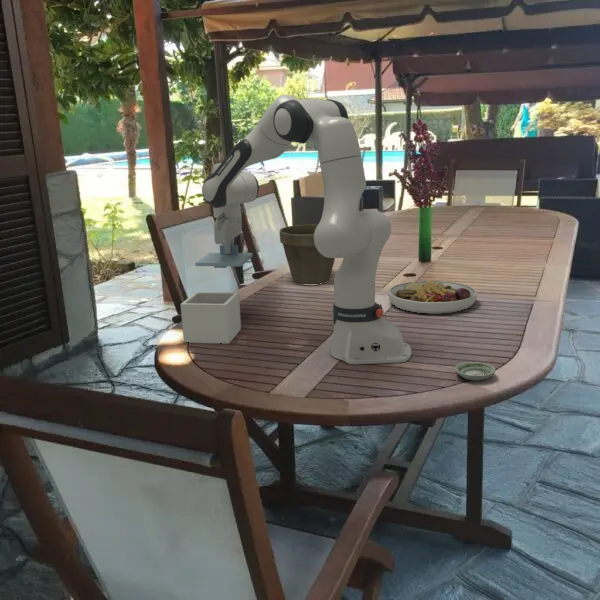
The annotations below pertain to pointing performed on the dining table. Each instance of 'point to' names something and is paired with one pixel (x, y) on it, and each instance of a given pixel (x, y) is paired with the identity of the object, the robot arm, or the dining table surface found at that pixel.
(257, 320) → the dining table surface
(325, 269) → the plant pot
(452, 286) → the bowl
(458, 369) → the saucer
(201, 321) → the tub
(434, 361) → the dining table surface
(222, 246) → the lid
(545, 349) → the dining table surface
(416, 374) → the dining table surface
